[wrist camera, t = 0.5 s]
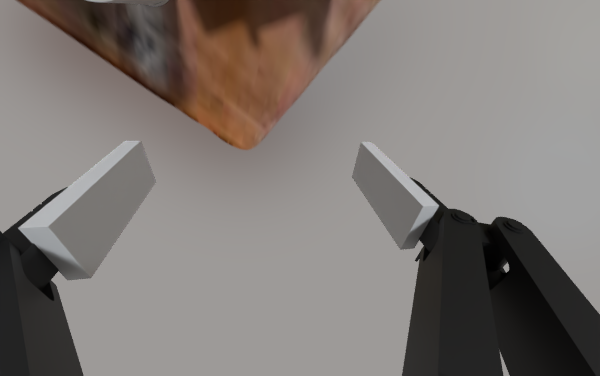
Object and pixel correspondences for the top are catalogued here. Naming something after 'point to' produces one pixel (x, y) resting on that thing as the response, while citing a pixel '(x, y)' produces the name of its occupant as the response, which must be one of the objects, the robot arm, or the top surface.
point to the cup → (134, 2)
